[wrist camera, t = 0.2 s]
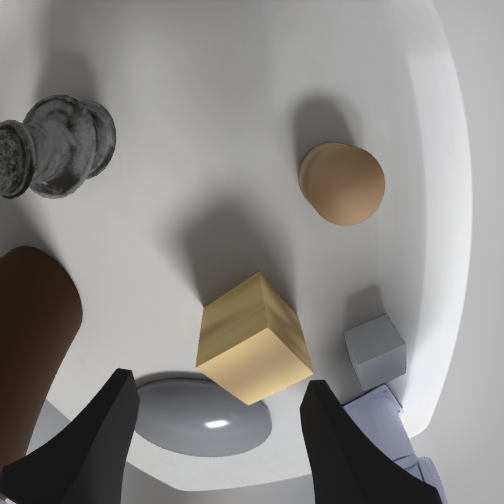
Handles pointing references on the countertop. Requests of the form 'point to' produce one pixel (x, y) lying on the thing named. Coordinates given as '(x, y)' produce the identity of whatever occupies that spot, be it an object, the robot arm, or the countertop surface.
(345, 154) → the oak cylinder
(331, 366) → the countertop surface
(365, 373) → the slate grey block
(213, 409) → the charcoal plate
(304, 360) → the ochre block
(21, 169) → the salt shaker
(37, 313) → the olive oil
